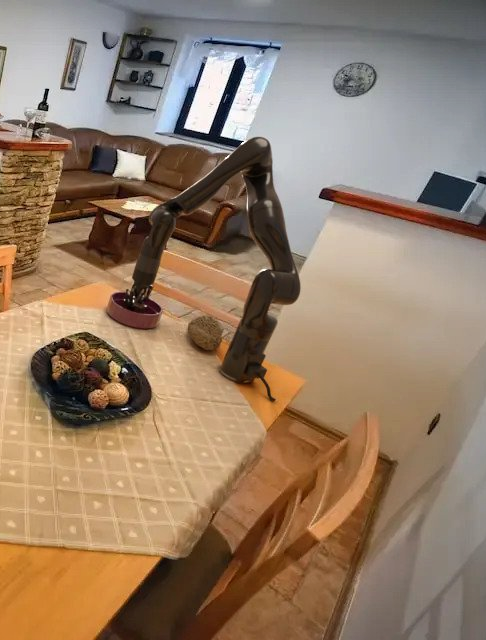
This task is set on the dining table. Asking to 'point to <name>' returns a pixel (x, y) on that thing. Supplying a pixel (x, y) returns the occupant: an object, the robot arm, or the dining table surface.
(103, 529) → the dining table surface
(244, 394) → the dining table surface
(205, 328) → the sponge
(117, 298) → the bowl
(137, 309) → the eraser
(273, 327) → the robot arm
